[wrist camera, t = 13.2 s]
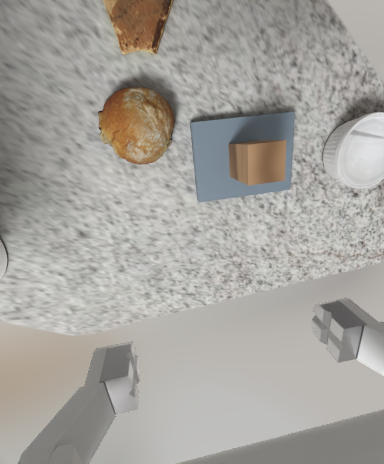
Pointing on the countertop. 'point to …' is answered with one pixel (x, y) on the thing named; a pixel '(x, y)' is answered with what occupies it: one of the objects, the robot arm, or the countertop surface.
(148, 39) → the shard
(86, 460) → the robot arm
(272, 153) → the walnut block
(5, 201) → the countertop surface
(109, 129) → the bread roll
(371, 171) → the ramekin
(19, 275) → the countertop surface
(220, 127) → the slate board
